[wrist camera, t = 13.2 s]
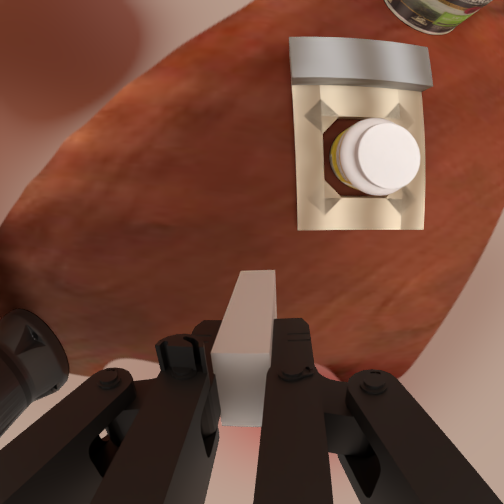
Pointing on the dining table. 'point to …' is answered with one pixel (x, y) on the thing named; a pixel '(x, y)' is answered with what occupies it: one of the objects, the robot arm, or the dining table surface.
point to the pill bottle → (375, 156)
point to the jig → (356, 107)
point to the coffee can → (434, 13)
